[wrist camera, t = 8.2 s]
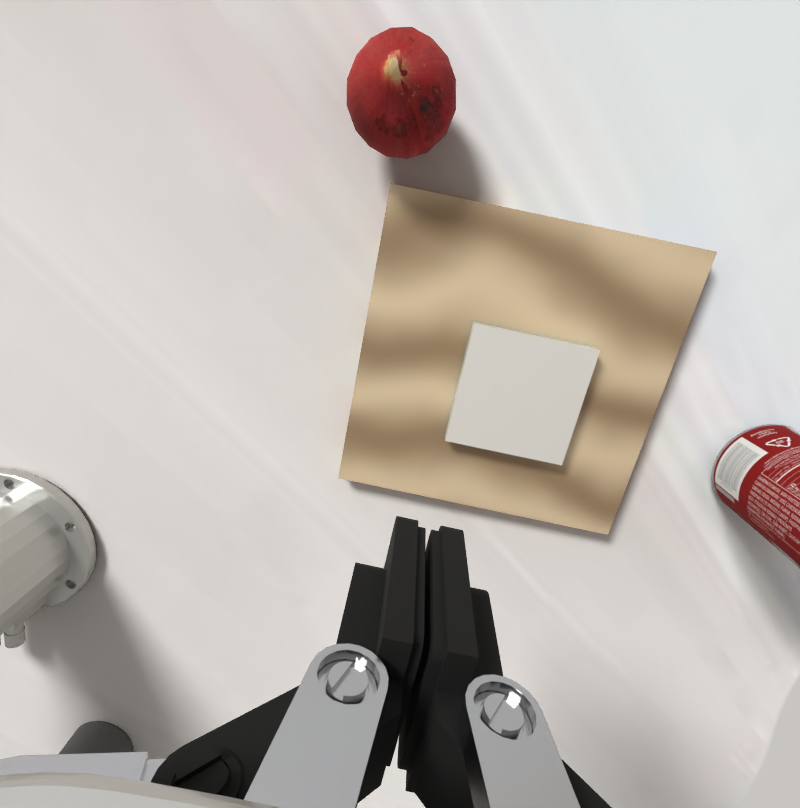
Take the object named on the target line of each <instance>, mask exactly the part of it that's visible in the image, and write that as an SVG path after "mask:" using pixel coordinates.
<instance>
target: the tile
mask: <svg viewBox="0 0 800 808" xmlns="http://www.w3.org/2000/svg"><path fill="white" fill-rule="evenodd" d="M599 353H600V350H599V349H597V348H595V347H593V346H588V345H584V344H579V343H574V342H569V341H565V340H560V339H555V338H550V337H545V336H541V335H536V334H531V333H526V332H522V331H517V330H512V329H507V328H503V327H498V326H493V325H488V324H484V323H479V322H474V321H473V322H472V326H471V330H470V334H469V338H468V342H467V346H466V350H465V354H464V358H463V362H462V367H461V371H460V375H459V379H458V383H457V387H456V391H455V395H454V399H453V403H452V407H451V411H450V415H449V419H448V424H447V428H446V432H445V441H448V442H453V443H458V444H462V445H467V446H472V447H477V448H481V449H486V450H491V451H496V452H500V453H505V454H510V455H515V456H519V457H524V458H529V459H534V460H538V461H543V462H548V463H553V464H557V465H562V464H563V461H564V458H565V455H566V452H567V449H568V446H569V443H570V440H571V437H572V434H573V431H574V428H575V425H576V422H577V419H578V416H579V413H580V410H581V407H582V404H583V401H584V398H585V395H586V392H587V389H588V386H589V383H590V380H591V377H592V374H593V371H594V368H595V365H596V362H597V359H598V356H599Z"/></svg>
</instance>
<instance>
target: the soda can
mask: <svg viewBox="0 0 800 808" xmlns="http://www.w3.org/2000/svg"><path fill="white" fill-rule="evenodd" d="M712 481H713V486H714V489H715V491H716V493H717V495H718V496H719V498H720V499H721V500H722V501H723V502H724V503H725V504H726V505H727V506H729V507H730V508H731V509H732V510H733V511H734V512H736V513H737V514H738V515H739V516H740V517H741V518H743V519H744V520H745V521H746V522H747V523H748V524H749V525H751V526H752V527H753V528H754V529H755V530H756V531H758V532H759V533H760V534H761V535H762V536H763V537H765V538H766V539H767V540H768V541H769V542H770V543H771V544H773V545H774V546H775V547H776V548H777V549H778V550H780V551H781V552H782V553H783V554H784V555H785V556H787V557H788V558H789V559H790V560H791V561H792V562H793V563H795V564H796V565H797V566H798V567H799V568H800V431H798V430H796V429H794V428H791V427H788V426H784V425H776V424H770V425H761V426H757V427H754V428H751V429H748V430H746V431H744V432H742V433H740V434H739V435H737V436H735V437H734V438H733V439H732V440H730V441H729V442H728V443H727V444H726V445H725V446H724V447H723V449H722V450H721V451H720V453H719V455H718V456H717V458H716V460H715V463H714V466H713V471H712Z"/></svg>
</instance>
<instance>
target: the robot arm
mask: <svg viewBox="0 0 800 808" xmlns="http://www.w3.org/2000/svg"><path fill="white" fill-rule="evenodd" d="M95 562H96V545H95V540H94V535H93V533H92V530H91V528H90V526H89V523H88V521H87V520H86V518H85V516H84V515H83V513H82V512H81V510H80V509H79V508H78V507H77V505H76V504H75V503H74V502H73V501H72V500H71V499H70V498H69V497H68V496H67V495H66V494H65V493H63V492H62V491H61V490H60V489H59V488H57V487H56V486H54V485H52V484H51V483H49V482H47V481H46V480H44V479H42V478H40V477H37V476H35V475H33V474H30V473H27V472H23V471H19V470H15V469H3V468H0V635H2V634H3V633H4V640H5V646H6V647H7V648H15V647H18V646H20V645H22V644H23V643H24V642H25V640H26V638H25V626H24V622H25V621H26V620H27V619H28V618H29V617H30V616H31V615H32V614H34V613H35V612H36V611H37V610H38V609H39V608H43V607H50V606H54V605H57V604H60V603H62V602H64V601H66V600H68V599H70V598H71V597H72V596H73V595H74V594H76V593H77V592H78V591H79V590H80V589H81V588H82V587H83V586H84V585H85V584H86V582H87V581H88V580H89V578H90V576H91V574H92V572H93V570H94V566H95ZM0 645H1V637H0ZM398 736H399V747H398V768H399V769H404V770H407V773H406V791H409V792H414V793H415V794H416V795H417V796H418V798H419V799H420V800H421V802H422V803H423V804H424V806H425V807H426V808H611V807H610V806H609V805H608V804H607V803H606V802H605V801H604V800H603V799H602V798H601V797H600V796H599V795H598V794H597V793H596V792H595V791H594V790H593V789H592V788H591V787H590V786H589V785H588V784H587V783H586V782H585V781H584V780H583V779H582V778H581V777H580V776H579V775H577V774H576V773H575V772H574V771H573V770H572V769H571V768H570V767H569V766H568V765H567V764H566V763H565V762H564V761H563V760H562V759H561V757H560V755H559V752H558V750H557V747H556V745H555V742H554V740H553V737H552V734H551V732H550V729H549V727H548V724H547V722H546V719H545V717H544V714H543V712H542V710H541V708H540V706H539V704H538V703H537V701H536V700H535V698H534V697H533V696H532V695H531V694H530V693H529V692H528V690H526V689H525V688H524V687H522V686H521V685H520V684H518V683H517V682H515V681H513V680H511V679H509V678H506V677H503V672H502V667H501V661H500V655H499V649H498V644H497V638H496V632H495V627H494V621H493V615H492V609H491V604H490V598H489V594H488V592H487V591H485V590H481V589H476V588H471V587H470V582H469V573H468V565H467V557H466V549H465V541H464V533H463V530H459V529H454V528H449V527H445V526H441V527H440V529H439V531H436V530H431V532H430V536H429V539H428V543H427V547H426V551H425V528H422V527H418V521H417V520H413V519H408V518H403V517H399V516H397V517H396V520H395V524H394V528H393V532H392V537H391V541H390V545H389V549H388V554H387V558H386V562H385V566H384V569H383V568H379V567H374V566H369V565H365V564H360V563H355V567H354V571H353V576H352V580H351V584H350V588H349V592H348V597H347V601H346V605H345V609H344V613H343V618H342V622H341V626H340V630H339V635H338V639H337V643H336V645H332V646H329V647H326V648H325V649H323V650H322V651H321V652H319V653H318V654H317V655H316V656H315V658H314V659H313V660H312V662H311V663H310V665H309V668H308V670H307V672H306V674H305V676H304V678H303V680H302V682H301V684H300V685H299V686H297V687H295V688H294V689H292V690H290V691H288V692H286V693H284V694H282V695H280V696H278V697H276V698H274V699H272V700H270V701H268V702H267V703H265V704H263V705H261V706H259V707H257V708H255V709H253V710H251V711H249V712H247V713H245V714H243V715H242V716H240V717H238V718H236V719H234V720H232V721H230V722H228V723H226V724H224V725H222V726H220V727H218V728H216V729H215V730H213V731H211V732H209V733H207V734H205V735H203V736H201V737H199V738H197V739H195V740H193V741H191V742H190V743H188V744H186V745H184V746H182V747H181V748H179V749H178V750H176V751H175V752H174V753H172V754H171V755H169V756H168V757H167V759H148V752H120V753H89V754H58V755H26V756H16V757H11V758H5V759H0V808H356V807H357V804H358V803H359V802H360V801H361V800H362V799H364V798H365V797H366V796H367V795H369V794H370V793H371V792H373V791H374V790H375V789H376V788H378V787H379V786H380V785H381V782H382V778H383V775H384V771H385V768H386V766H390V764H391V761H392V758H393V754H394V751H395V747H396V744H397V740H398Z"/></svg>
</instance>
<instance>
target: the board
mask: <svg viewBox="0 0 800 808" xmlns="http://www.w3.org/2000/svg"><path fill="white" fill-rule="evenodd" d="M716 253H717V252H715V251H710V250H705V249H701V248H696V247H691V246H686V245H682V244H677V243H672V242H667V241H663V240H658V239H653V238H648V237H644V236H639V235H634V234H629V233H625V232H620V231H615V230H610V229H606V228H601V227H596V226H591V225H587V224H582V223H577V222H572V221H568V220H563V219H558V218H553V217H549V216H544V215H539V214H534V213H530V212H525V211H520V210H515V209H511V208H506V207H501V206H496V205H492V204H487V203H482V202H477V201H473V200H468V199H463V198H458V197H454V196H449V195H444V194H439V193H435V192H430V191H425V190H420V189H416V188H411V187H406V186H401V185H397V184H392V183H391V185H390V191H389V196H388V202H387V208H386V213H385V219H384V225H383V230H382V236H381V242H380V247H379V253H378V258H377V264H376V270H375V275H374V281H373V287H372V292H371V298H370V303H369V309H368V315H367V320H366V326H365V332H364V337H363V343H362V348H361V354H360V360H359V365H358V371H357V377H356V382H355V388H354V393H353V399H352V405H351V410H350V416H349V422H348V427H347V433H346V438H345V444H344V450H343V455H342V461H341V467H340V472H339V478H340V479H345V480H349V481H354V482H359V483H364V484H368V485H373V486H378V487H383V488H387V489H392V490H397V491H402V492H407V493H411V494H416V495H421V496H426V497H430V498H435V499H440V500H445V501H449V502H454V503H459V504H464V505H468V506H473V507H478V508H483V509H487V510H492V511H497V512H502V513H506V514H511V515H516V516H521V517H525V518H530V519H535V520H540V521H544V522H549V523H554V524H559V525H563V526H568V527H573V528H578V529H582V530H587V531H592V532H597V533H602V534H606V535H608V533H609V531H610V528H611V526H612V523H613V521H614V518H615V515H616V513H617V510H618V508H619V505H620V502H621V500H622V497H623V495H624V492H625V489H626V487H627V484H628V482H629V479H630V476H631V474H632V471H633V469H634V466H635V463H636V461H637V458H638V456H639V453H640V450H641V448H642V445H643V443H644V440H645V437H646V435H647V432H648V430H649V427H650V424H651V422H652V419H653V417H654V414H655V411H656V409H657V406H658V404H659V401H660V398H661V396H662V393H663V391H664V388H665V385H666V383H667V380H668V378H669V375H670V372H671V370H672V367H673V365H674V362H675V360H676V357H677V354H678V352H679V349H680V347H681V344H682V341H683V339H684V336H685V334H686V331H687V328H688V326H689V323H690V321H691V318H692V315H693V313H694V310H695V308H696V305H697V302H698V300H699V297H700V295H701V292H702V289H703V287H704V284H705V282H706V279H707V276H708V274H709V271H710V269H711V266H712V263H713V261H714V258H715V256H716ZM473 321H474V322H479V323H484V324H488V325H493V326H498V327H503V328H507V329H512V330H517V331H522V332H526V333H531V334H536V335H541V336H545V337H550V338H555V339H560V340H565V341H569V342H574V343H579V344H584V345H588V346H593V347H595V348H597V349H599V350H600V353H599V356H598V359H597V362H596V365H595V368H594V371H593V374H592V377H591V380H590V383H589V386H588V389H587V392H586V395H585V398H584V401H583V404H582V407H581V410H580V413H579V416H578V419H577V422H576V425H575V428H574V431H573V434H572V437H571V440H570V443H569V446H568V449H567V452H566V455H565V458H564V461H563V464H562V465H557V464H553V463H548V462H543V461H538V460H534V459H529V458H524V457H519V456H515V455H510V454H505V453H500V452H496V451H491V450H486V449H481V448H477V447H472V446H467V445H462V444H458V443H453V442H448V441H445V432H446V428H447V424H448V419H449V415H450V411H451V407H452V403H453V399H454V395H455V391H456V387H457V383H458V379H459V375H460V371H461V367H462V362H463V358H464V354H465V350H466V346H467V342H468V338H469V334H470V330H471V326H472V322H473Z"/></svg>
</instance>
